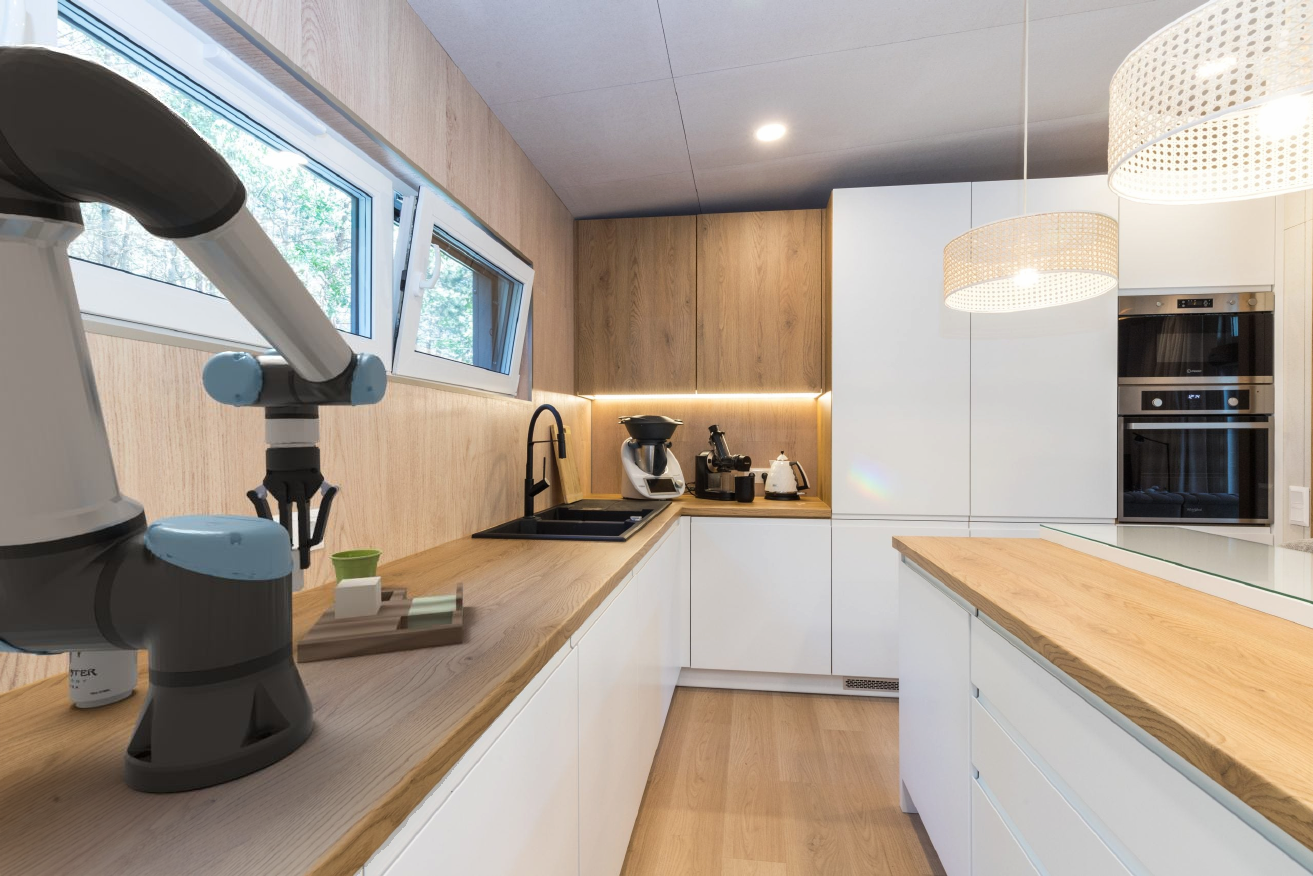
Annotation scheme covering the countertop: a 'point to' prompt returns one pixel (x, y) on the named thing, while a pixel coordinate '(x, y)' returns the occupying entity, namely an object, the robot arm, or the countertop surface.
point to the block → (357, 597)
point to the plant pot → (355, 563)
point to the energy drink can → (101, 677)
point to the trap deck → (386, 627)
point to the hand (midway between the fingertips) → (296, 589)
